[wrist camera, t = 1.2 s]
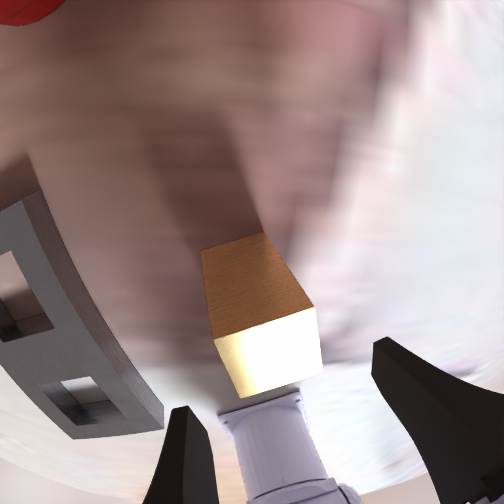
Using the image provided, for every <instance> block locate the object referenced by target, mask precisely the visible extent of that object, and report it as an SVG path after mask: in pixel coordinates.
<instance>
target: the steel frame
mask: <svg viewBox="0 0 504 504" xmlns="http://www.w3.org/2000/svg"><path fill="white" fill-rule="evenodd" d="M10 250H11V251H12V253H13V255H14V257H15V259H16V261H17V263H18V265H19V267H20V269H21V271H22V273H23V275H24V277H25V279H26V280H27V282H28V284H29V286H30V288H31V290H32V291H33V293H34V295H35V296H36V298H37V300H38V302H39V303H40V305H41V307H42V308H43V310H44V311H45V313H43V314H40V315H37V316H34V317H31V318H28V319H24V320H21V321H18V322H14V320H13V318H12V317H11V315H10V314H9V312H8V311H7V309H6V307H5V306H4V304H3V302H2V301H1V299H0V365H1V366H2V367H3V368H4V369H5V371H6V372H7V373H8V374H9V376H10V377H11V378H12V379H13V380H14V381H15V383H16V384H17V385H18V386H19V387H20V388H21V389H22V390H23V392H24V393H25V394H26V395H27V396H28V397H29V398H30V399H31V400H32V401H33V402H34V403H35V404H36V405H37V406H38V407H39V408H40V409H41V410H42V411H43V412H44V413H45V414H46V415H47V416H48V417H49V418H50V419H51V420H52V421H53V422H54V423H55V424H56V425H57V426H58V427H59V428H61V429H62V430H63V431H64V432H65V433H66V434H67V435H68V436H70V437H71V438H72V439H88V438H101V437H111V436H120V435H128V434H136V433H143V432H149V431H155V430H161V429H164V406H163V405H162V404H161V403H160V401H159V400H158V399H157V397H156V396H155V395H154V393H153V392H152V391H151V390H150V388H149V387H148V385H147V384H146V383H145V381H144V380H143V379H142V377H141V376H140V375H139V373H138V372H137V370H136V369H135V367H134V366H133V365H132V363H131V362H130V360H129V359H128V357H127V356H126V354H125V353H124V351H123V350H122V348H121V347H120V345H119V344H118V342H117V341H116V339H115V337H114V336H113V334H112V333H111V331H110V330H109V328H108V326H107V325H106V323H105V321H104V320H103V318H102V316H101V315H100V313H99V311H98V309H97V308H96V306H95V304H94V302H93V301H92V299H91V297H90V295H89V293H88V292H87V290H86V288H85V286H84V284H83V282H82V280H81V279H80V277H79V275H78V273H77V271H76V269H75V267H74V265H73V263H72V261H71V259H70V257H69V254H68V252H67V250H66V248H65V246H64V244H63V242H62V239H61V237H60V235H59V233H58V230H57V228H56V226H55V223H54V221H53V219H52V216H51V214H50V211H49V209H48V206H47V204H46V201H45V198H44V196H43V193H42V190H41V189H39V190H37V191H35V192H33V193H32V194H30V195H28V196H26V197H24V198H22V199H20V200H19V201H17V202H15V203H13V204H12V205H10V206H8V207H6V208H5V209H3V210H1V211H0V255H2V254H4V253H6V252H8V251H10ZM88 376H91V378H92V379H93V380H94V381H95V383H96V384H97V385H98V386H99V387H100V389H101V390H102V391H103V392H104V393H105V394H106V396H107V397H108V398H109V399H110V400H109V401H103V402H96V403H90V404H82V405H80V404H79V403H78V402H77V401H76V400H75V398H74V397H73V396H72V395H71V394H70V393H69V392H68V391H67V390H66V389H65V387H64V386H63V385H62V384H61V383H60V381H66V380H72V379H77V378H82V377H88Z"/></svg>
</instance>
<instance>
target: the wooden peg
mask: <svg viewBox="0 0 504 504" xmlns="http://www.w3.org/2000/svg"><path fill="white" fill-rule="evenodd" d="M200 256H201V263H202V270H203V278H204V285H205V292H206V298H207V305H208V312H209V318H210V324H211V331H212V337H213V341H214V343H215V345H216V348H217V350H218V352H219V354H220V357H221V359H222V361H223V363H224V365H225V367H226V370H227V372H228V374H229V376H230V378H231V380H232V382H233V384H234V387H235V389H236V391H237V393H238V395H239V397H240V399H241V398H244V397H248V396H251V395H254V394H258V393H261V392H264V391H267V390H270V389H273V388H277V387H280V386H283V385H285V384H288V383H291V382H294V381H297V380H300V379H303V378H305V377H308V376H311V375H313V374H316V373H319V372H321V371H323V370H322V361H321V353H320V345H319V337H318V329H317V321H316V314H315V307H314V305H313V304H312V302H311V301H310V299H309V298H308V296H307V295H306V293H305V292H304V290H303V289H302V287H301V286H300V284H299V283H298V281H297V280H296V278H295V277H294V275H293V274H292V272H291V271H290V269H289V268H288V266H287V265H286V263H285V262H284V261H283V259H282V258H281V256H280V255H279V253H278V252H277V250H276V249H275V247H274V246H273V244H272V243H271V241H270V240H269V238H268V237H267V236H266V234H265V233H264V232H260V233H257V234H254V235H250V236H247V237H244V238H241V239H237V240H234V241H231V242H228V243H224V244H221V245H218V246H215V247H212V248H208V249H205V250H202V251H200Z"/></svg>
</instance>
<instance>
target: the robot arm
mask: <svg viewBox="0 0 504 504" xmlns="http://www.w3.org/2000/svg"><path fill="white" fill-rule="evenodd" d="M371 375H372V377H373V379H374V381H375V383H376V385H377V387H378V389H379V391H380V392H381V394H382V396H383V397H384V399H385V400H386V402H387V403H388V405H389V406H390V407H391V409H392V410H393V412H394V413H395V415H396V416H397V417H398V419H399V420H400V422H401V423H402V424H403V426H404V427H405V429H406V430H407V432H408V433H409V435H410V436H411V438H412V440H413V441H414V443H415V445H416V447H417V449H418V451H419V453H420V455H421V457H422V459H423V461H424V463H425V465H426V468H427V470H428V472H429V474H430V476H431V479H432V482H433V484H434V486H435V489H436V492H437V495H438V498H439V501H440V504H466V503H467V502H469V503H470V504H504V394H501V393H497V392H493V391H490V390H486V389H483V388H480V387H478V386H475V385H472V384H470V383H467V382H465V381H463V380H461V379H458V378H456V377H454V376H452V375H450V374H448V373H446V372H444V371H442V370H441V369H439V368H437V367H435V366H433V365H432V364H430V363H428V362H427V361H425V360H423V359H422V358H420V357H418V356H417V355H415V354H414V353H412V352H410V351H409V350H407V349H406V348H404V347H403V346H401V345H400V344H398V343H397V342H395V341H394V340H392V339H391V338H389V337H385V338H382V339H380V340H378V341H376V342H374V343H373V359H372V371H371ZM218 418H219V422H220V423H221V425H222V426H223V428H224V429H225V431H226V432H227V433H228V435H229V436H230V438H231V439H232V441H233V442H234V444H235V447H236V452H237V456H238V460H239V465H240V469H241V473H242V477H243V481H244V485H245V489H246V493H247V497H248V501H246V504H363V502H362V500H361V498H360V497H359V495H358V494H357V492H356V491H355V490H354V489H353V488H352V487H350V486H348V485H346V484H344V483H340V484H336V482H335V479H334V478H328V476H327V473H326V471H325V469H324V466H323V464H322V462H321V459H320V457H319V455H318V452H317V450H316V447H315V445H314V443H313V440H312V438H311V436H310V433H309V428H308V423H307V418H306V413H305V408H304V404H303V399H302V395H301V393H300V392H295V393H292V394H289V395H286V396H283V397H280V398H277V399H274V400H271V401H268V402H265V403H262V404H258V405H255V406H252V407H248V408H245V409H241V410H238V411H234V412H230V413H227V414H223V415H220V416H219V417H218ZM142 504H219V499H218V492H217V484H216V476H215V469H214V461H213V453H212V449H211V445H210V441H209V437H208V433H207V430H206V429H205V428H204V426H203V425H202V424H201V422H200V421H199V420H198V418H197V417H196V416H195V414H194V413H193V411H192V410H191V409H190V407H189V406H183V407H179V408H174V409H172V411H171V415H170V420H169V424H168V428H167V432H166V436H165V440H164V444H163V447H162V451H161V454H160V458H159V461H158V464H157V467H156V470H155V473H154V476H153V479H152V482H151V484H150V487H149V489H148V492H147V494H146V497H145V499H144V501H143V503H142Z"/></svg>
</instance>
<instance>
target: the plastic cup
mask: <svg viewBox="0 0 504 504" xmlns="http://www.w3.org/2000/svg"><path fill="white" fill-rule="evenodd" d="M64 1H65V0H0V24H2V25H11V26H20V25H27V24H30V23H33V22H37V21H39V20H41V19H42V18H44V17H45V16H47V15H49V14H50V13H52V12H53V11H55V10H56V9H57V8H58V7H59V6H60V5H61V4H62V3H63V2H64Z"/></svg>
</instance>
